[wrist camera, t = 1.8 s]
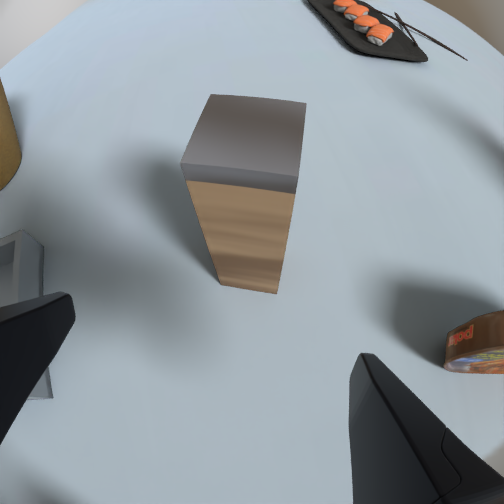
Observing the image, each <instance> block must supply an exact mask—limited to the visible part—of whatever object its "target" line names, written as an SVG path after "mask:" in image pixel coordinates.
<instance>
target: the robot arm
mask: <svg viewBox="0 0 504 504" xmlns="http://www.w3.org/2000/svg"><path fill="white" fill-rule="evenodd" d="M75 317H76V316H75V310H74V305H73V300H72V297H71V295H70V294H67V293H64V292H56V293H53V294H49V295H45V296H41V297H37V298H33V299H30V300H26V301H22V302H18V303H14V304H10V305H7V306H3V307H0V445H1V443H2V441H3V439H4V437H5V436H6V434H7V432H8V430H9V429H10V427H11V425H12V423H13V422H14V420H15V418H16V416H17V415H18V413H19V411H20V410H21V408H22V406H23V405H24V403H25V402H26V400H27V398H28V397H29V395H30V394H31V392H32V390H33V389H34V387H35V386H36V384H37V383H38V381H39V380H40V378H41V377H42V375H43V373H44V372H45V370H46V369H47V368H48V366H49V365H50V363H51V362H52V360H53V359H54V357H55V355H56V354H57V352H58V350H59V349H60V347H61V345H62V343H63V341H64V340H65V338H66V336H67V334H68V333H69V331H70V329H71V327H72V326H73V324H74V322H75ZM349 438H350V451H351V465H352V484H353V504H504V477H502V476H501V475H500V474H499V473H498V472H496V471H495V470H494V469H493V468H492V467H490V466H489V465H488V464H487V463H486V462H484V461H483V460H482V459H481V458H480V457H478V456H477V455H476V454H475V453H474V452H473V451H471V450H470V449H469V448H468V447H467V446H466V445H465V444H464V443H463V442H462V441H461V440H460V439H459V438H458V437H457V436H456V435H455V434H454V433H453V432H452V431H451V430H450V429H449V428H446V425H445V424H444V423H443V422H442V421H441V420H440V419H439V418H438V417H437V416H436V415H435V414H434V413H433V412H432V411H431V410H430V409H429V408H428V407H427V406H426V405H425V404H424V403H423V402H422V401H421V400H420V399H419V398H418V397H417V396H416V395H415V394H414V393H413V392H412V391H411V390H410V389H409V388H408V387H407V386H406V385H405V384H404V383H403V382H402V381H401V380H400V379H399V378H398V377H397V376H396V375H395V374H394V373H393V372H392V371H391V370H390V369H389V368H388V367H387V366H386V365H385V364H384V363H383V362H382V361H381V360H380V359H379V358H378V357H377V356H375V355H374V354H370V353H361V354H359V356H358V358H357V360H356V363H355V365H354V368H353V370H352V373H351V376H350V386H349Z"/></svg>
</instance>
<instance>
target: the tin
mask: <svg viewBox="0 0 504 504" xmlns="http://www.w3.org/2000/svg"><path fill="white" fill-rule="evenodd" d="M444 368H445V369H446V370H448V371H451V372H459V373H481V374H504V310H503V311H497V312H492V313H488V314H485V315H481V316H478V317H476V318H474V319H472V320H471V321H469V322H467V323H465V324H463V325H461V326H459V327H457V328H455V329H454V330H452V331H450V332H449V333H448V335H447V340H446V357H445V363H444Z"/></svg>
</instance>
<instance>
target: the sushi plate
mask: <svg viewBox="0 0 504 504" xmlns="http://www.w3.org/2000/svg"><path fill="white" fill-rule="evenodd" d="M308 2H309V3H310V4H311V5H312V6H313V7H314V8H315V9H316V10H317V11H318V12H319V13H320V14H321V15H322V16H323V17H324V18H325V19H326V20H327V21H328V22H329V23H330V24H331V25H332V27H333V28H334V29H335V30H336V31H337V32H338V33H339V34H340V35H341V37H342V38H343V39H344V40H345V41H346V42H347V43H348V44H349V45H350V46H352V47H353V48H354V49H356V50H358V51H360V52H363V53H367V54H371V55H377V56H384V57H391V58H397V59H404V60H410V61H417V62H426V61H428V57H427V56H426V54H425V53H424V52H423V51H422V50H421V49H420V48H419V47H418V44H417V43H416V41H415V40H414V38H413V37H412V35H411V34H410V32H409V31H408V29H407V28H406V26H408V27H410V28H412V29H413V30H415V31H417V32H419V33H421V34H422V35H424V36H426V37H427V38H429V39H431V40H432V41H434V42H436V43H437V44H439V45H441V46H442V47H444V48H445V49H447V50H449V51H451V52H453V53H455V54H456V55H458V56H460V57H461V58H463V59H465V58H464V57H462V56H461V55H459V54H458V53H456V52H455V51H453V50H452V49H450V48H448V47H447V46H445V45H444V44H442V43H440V42H439V41H437V40H435V39H434V38H432V37H430V36H428V35H426V34H425V33H423V32H421V31H419V30H417V29H415V28H414V27H412V26H410V25H408V24H406V23H404V22H402V20H401V19H400V17H399V16H398V14H397V13H395V12H394V13H395V15H396V17H397V19H396V18H394V17H392V16H389V15H387V14H385V13H383V12H381V11H378V10H376V9H374V8H373V7H372V6H370V5H369V4H367V3H365V2H363V1H359V0H308ZM382 14H384V15H386V16H388V17H390V18H392V19H394V20H396V21H398V22H400V23H401V24H402V26H403V27H404V28H405V30H406V31H407V33H408V34H409V35H410V37H411V38H412V40H413V41H414V42H413V41H412V40H411V39H410V38H409V37H408V36H407V35H405V34H404V33H403V32H402V31H401V30H400V29H399V28H398V27H396V26H395V25H394V24H393V23H392V22H391V21H389V20H388V19H387V18H386V17H384V16H383V15H382ZM405 25H406V26H405ZM465 60H467V59H465ZM467 61H468V60H467Z"/></svg>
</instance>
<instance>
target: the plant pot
mask: <svg viewBox="0 0 504 504" xmlns="http://www.w3.org/2000/svg"><path fill="white" fill-rule="evenodd" d="M20 162H21V151H20V146H19V142H18V138H17V134H16V130H15V126H14V123H13V119H12V115H11V112H10V108H9V105H8V101H7V98H6V95H5V92H4V88H3V85H2V82H1V79H0V190H1V189H2V188H4V187H5V186H6V184H7V183H8V182H9V181H10V180H11V179H12V177H13V176H14V174H15V173H16V171H17V169H18V167H19V165H20Z"/></svg>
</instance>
